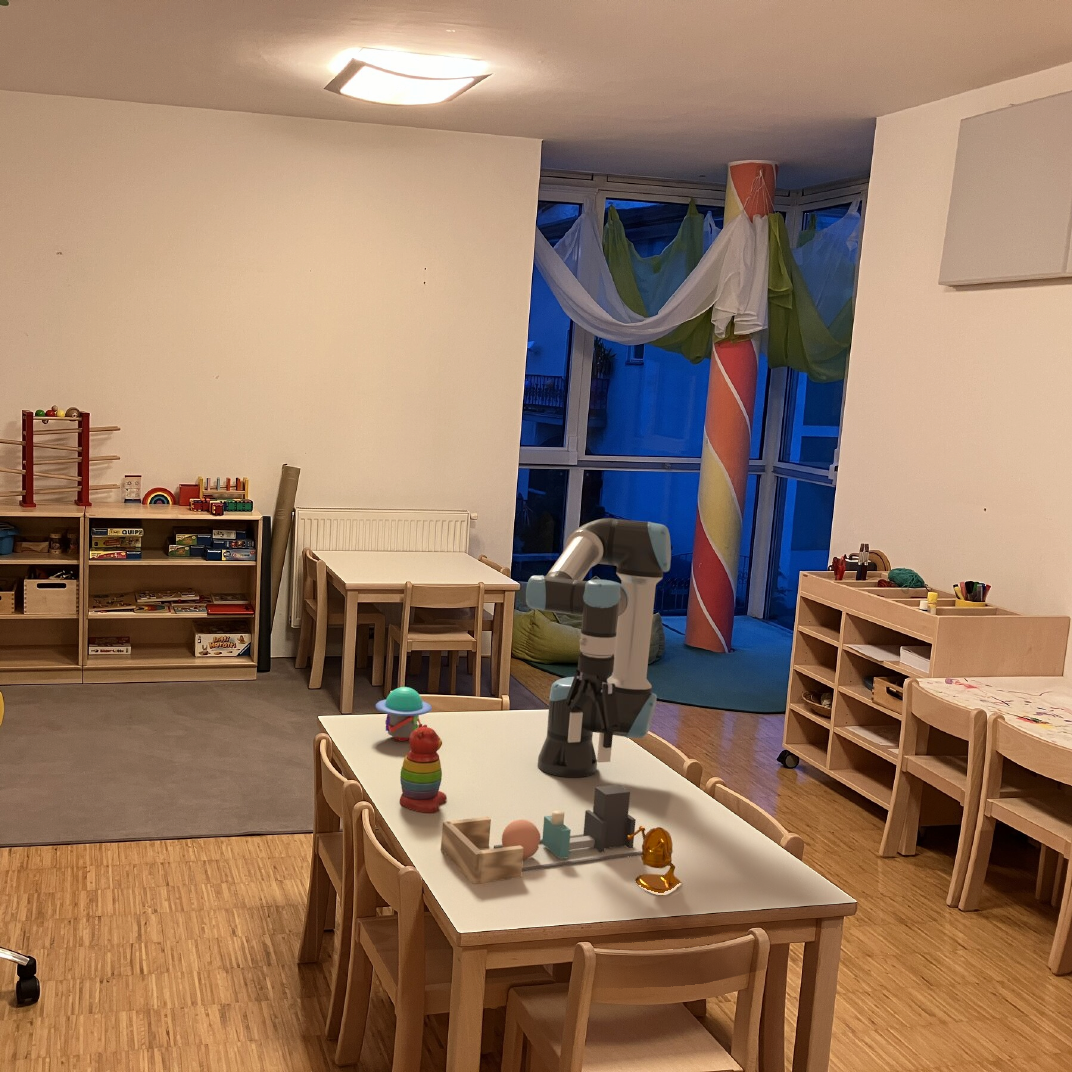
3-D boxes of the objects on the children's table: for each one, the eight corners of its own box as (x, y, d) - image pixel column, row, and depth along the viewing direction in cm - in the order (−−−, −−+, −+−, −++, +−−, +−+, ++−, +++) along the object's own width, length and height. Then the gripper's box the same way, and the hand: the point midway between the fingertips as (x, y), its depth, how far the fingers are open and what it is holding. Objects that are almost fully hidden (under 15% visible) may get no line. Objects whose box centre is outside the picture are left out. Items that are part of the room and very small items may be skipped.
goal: (485, 843, 242) (487, 816, 241) (521, 877, 227) (523, 848, 226) (440, 849, 237) (442, 821, 237) (473, 883, 222) (476, 854, 222)
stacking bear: (435, 814, 256) (440, 737, 254) (392, 808, 258) (396, 731, 256) (448, 798, 267) (453, 724, 264) (407, 792, 269) (411, 718, 266)
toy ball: (545, 856, 238) (548, 819, 237) (529, 869, 231) (532, 831, 230) (510, 847, 241) (513, 811, 240) (493, 859, 234) (496, 822, 233)
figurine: (621, 880, 229) (627, 823, 228) (666, 873, 234) (671, 816, 233) (646, 899, 222) (651, 839, 220) (691, 890, 227) (697, 832, 225)
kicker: (620, 833, 252) (624, 780, 250) (639, 847, 245) (644, 793, 243) (540, 843, 243) (545, 789, 241) (558, 858, 236) (563, 802, 234)
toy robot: (426, 749, 300) (430, 697, 298) (369, 745, 300) (372, 692, 298) (432, 732, 315) (436, 682, 313) (378, 728, 315) (381, 678, 313)
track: (612, 832, 254) (613, 830, 254) (642, 854, 243) (643, 852, 243) (493, 847, 240) (493, 845, 240) (519, 872, 230) (519, 869, 229)
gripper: (555, 640, 252) (547, 734, 254) (609, 669, 229) (600, 771, 232) (585, 640, 255) (577, 733, 257) (642, 667, 233) (632, 769, 235)
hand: (588, 751), depth 245 cm, fingers open, 13 cm apart
